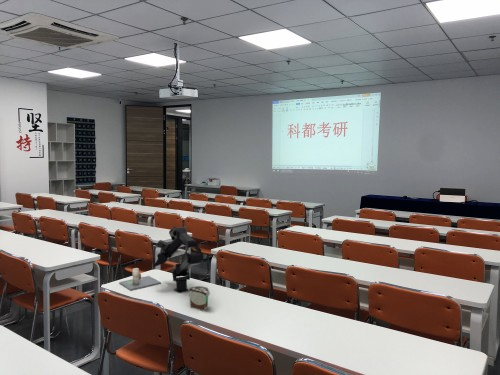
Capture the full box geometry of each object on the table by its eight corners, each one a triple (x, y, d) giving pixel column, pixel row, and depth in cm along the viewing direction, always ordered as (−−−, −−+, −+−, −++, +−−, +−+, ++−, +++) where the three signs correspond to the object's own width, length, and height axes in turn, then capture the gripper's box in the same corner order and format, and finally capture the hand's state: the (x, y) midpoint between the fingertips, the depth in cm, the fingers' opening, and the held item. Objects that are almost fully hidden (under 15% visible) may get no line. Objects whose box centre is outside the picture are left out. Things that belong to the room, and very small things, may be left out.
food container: (214, 307, 196) (214, 288, 195) (207, 312, 191) (207, 292, 190) (196, 302, 202) (196, 284, 201) (188, 306, 197) (188, 287, 196)
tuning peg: (134, 278, 237) (133, 263, 236) (141, 277, 238) (141, 263, 237) (131, 285, 224) (131, 270, 224) (139, 284, 225) (139, 269, 224)
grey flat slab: (160, 283, 231) (160, 282, 231) (130, 290, 219) (130, 289, 218) (148, 277, 243) (148, 275, 243) (119, 283, 231) (119, 281, 231)
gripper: (169, 232, 233) (151, 250, 234) (160, 238, 214) (141, 258, 215) (182, 245, 233) (164, 263, 234) (174, 252, 214) (155, 272, 215)
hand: (156, 264), depth 225 cm, fingers open, 9 cm apart
